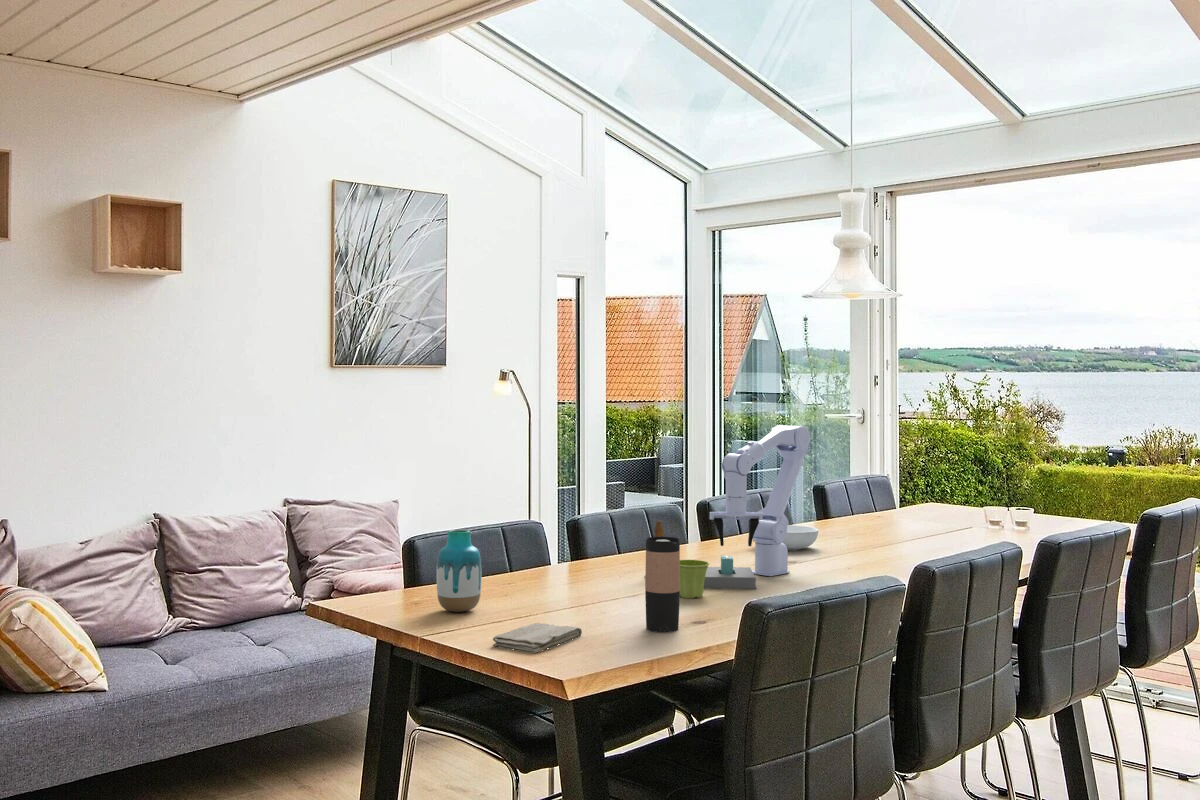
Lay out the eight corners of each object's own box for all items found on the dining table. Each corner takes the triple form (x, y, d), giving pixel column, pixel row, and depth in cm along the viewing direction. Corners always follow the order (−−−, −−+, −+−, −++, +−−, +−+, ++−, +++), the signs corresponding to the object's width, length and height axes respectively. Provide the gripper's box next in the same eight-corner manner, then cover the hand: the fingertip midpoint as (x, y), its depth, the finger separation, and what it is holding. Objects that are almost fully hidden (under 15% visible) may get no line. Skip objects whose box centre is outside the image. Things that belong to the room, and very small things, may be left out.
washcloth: (489, 649, 225) (489, 634, 225) (536, 632, 241) (536, 618, 241) (538, 656, 219) (538, 641, 219) (582, 638, 235) (582, 624, 235)
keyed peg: (720, 581, 301) (720, 555, 301) (731, 581, 301) (731, 555, 300) (721, 584, 296) (722, 558, 296) (733, 584, 296) (733, 558, 295)
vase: (462, 617, 252) (462, 535, 252) (427, 612, 258) (427, 531, 258) (490, 609, 261) (490, 530, 261) (455, 604, 267) (456, 526, 267)
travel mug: (643, 625, 246) (643, 536, 245) (676, 624, 246) (677, 536, 246) (647, 633, 238) (647, 541, 238) (682, 632, 239) (682, 541, 238)
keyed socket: (699, 577, 306) (699, 566, 306) (749, 578, 305) (750, 567, 305) (702, 588, 290) (702, 576, 290) (755, 588, 289) (755, 577, 289)
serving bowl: (823, 554, 350) (823, 532, 350) (758, 553, 350) (758, 532, 350) (812, 544, 371) (812, 524, 370) (750, 543, 371) (750, 523, 371)
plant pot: (712, 594, 282) (713, 560, 282) (704, 601, 273) (704, 566, 273) (677, 591, 285) (677, 558, 285) (668, 598, 276) (668, 564, 276)
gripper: (710, 498, 299) (710, 547, 299) (764, 498, 299) (763, 548, 299) (709, 495, 306) (709, 543, 306) (761, 495, 306) (760, 544, 306)
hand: (735, 545), depth 303 cm, fingers open, 7 cm apart
